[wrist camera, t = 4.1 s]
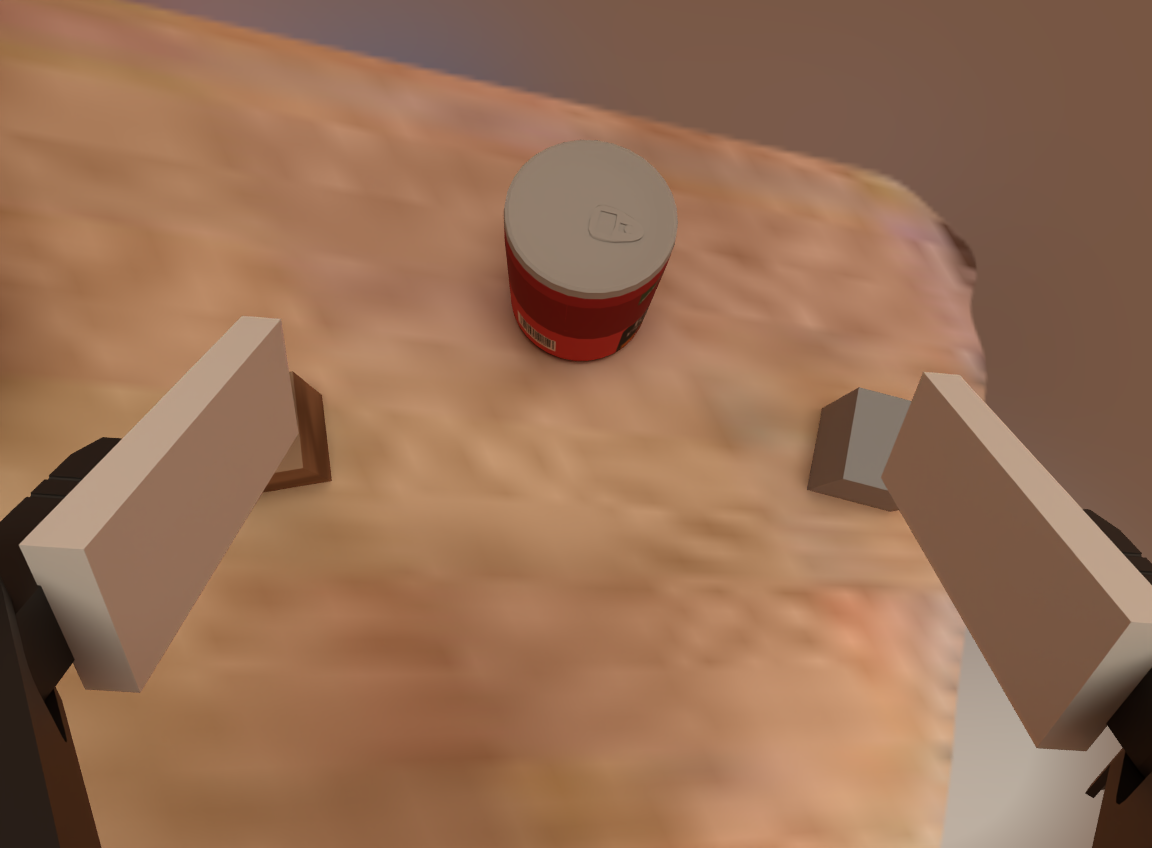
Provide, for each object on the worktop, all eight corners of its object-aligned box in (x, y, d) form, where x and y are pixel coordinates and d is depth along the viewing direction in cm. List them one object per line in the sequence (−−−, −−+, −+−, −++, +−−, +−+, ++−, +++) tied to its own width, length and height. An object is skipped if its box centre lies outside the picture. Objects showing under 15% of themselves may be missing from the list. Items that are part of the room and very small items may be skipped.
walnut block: (332, 481, 40) (303, 467, 35) (240, 496, 39) (198, 485, 34) (322, 395, 41) (292, 371, 36) (233, 410, 40) (190, 387, 35)
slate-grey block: (890, 511, 41) (937, 503, 36) (806, 489, 41) (843, 478, 36) (902, 430, 42) (950, 411, 37) (821, 408, 42) (858, 387, 37)
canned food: (644, 366, 42) (682, 296, 31) (509, 364, 42) (500, 291, 31) (642, 247, 44) (677, 140, 33) (512, 243, 43) (504, 134, 32)
